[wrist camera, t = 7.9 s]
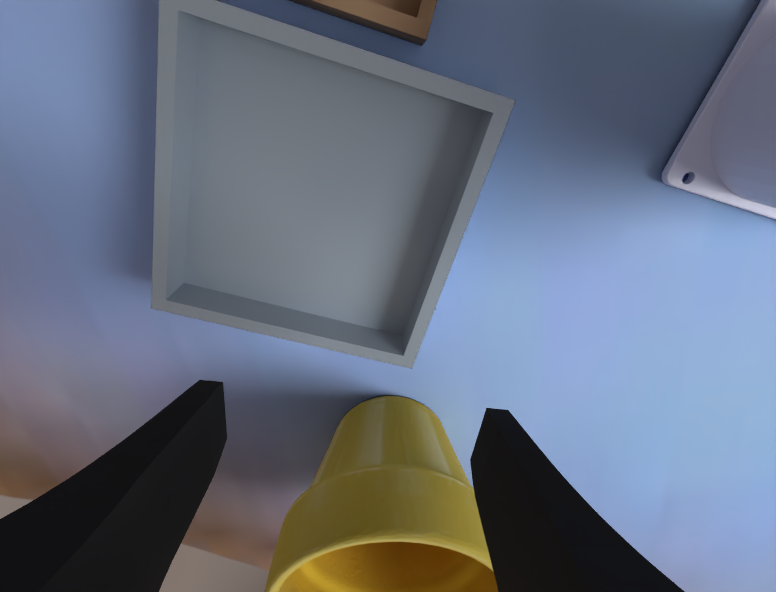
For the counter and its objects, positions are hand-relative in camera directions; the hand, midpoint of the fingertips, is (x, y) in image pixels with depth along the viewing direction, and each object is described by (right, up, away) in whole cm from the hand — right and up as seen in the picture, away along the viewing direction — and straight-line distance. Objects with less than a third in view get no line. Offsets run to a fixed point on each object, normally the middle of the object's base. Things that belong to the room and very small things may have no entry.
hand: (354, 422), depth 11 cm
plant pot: (+1, -5, +14) cm, 15 cm away
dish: (-2, +8, +7) cm, 11 cm away
